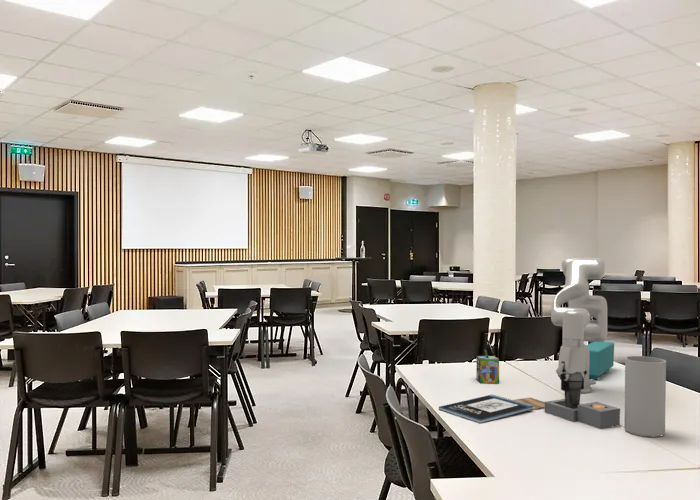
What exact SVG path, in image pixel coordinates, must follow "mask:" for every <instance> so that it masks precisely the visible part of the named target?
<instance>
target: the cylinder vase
mask: <svg viewBox="0 0 700 500" xmlns="http://www.w3.org/2000/svg"><path fill="white" fill-rule="evenodd" d="M624 360H625V361H624V419H623V420H624V422H623V423H624V424H623V425H624V426H623V427H624V430H625V431H626V432H628V433H629V432H630V433H629V434H632V435H635V434H636V435H635V436H639V435H641V436H640V437H644V436H661V435H663V436H665V434H666V393H667V392H666V391H667V389H666V387H667V385H666V384H667V380H666V379H667V360H666V359H663V358H659V357H653V356H644V355H631V356H629V355H627V356H625V359H624ZM661 437H662V436H661Z"/></svg>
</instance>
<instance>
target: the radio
mask: <svg viewBox="0 0 700 500" xmlns="http://www.w3.org/2000/svg"><path fill="white" fill-rule="evenodd" d="M585 345H586V346H587V348H588V349H589V380H590V379H597V380H598V379H599V377H600V376H601V375H603V374H605V371H610V369H611V368H613V367H614V361H615V360H614V359H615V353H614V352H615V343H614V342H612V341H603V342H592V341H591V342H590V343H588V344H585Z"/></svg>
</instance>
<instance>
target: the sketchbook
mask: <svg viewBox="0 0 700 500" xmlns="http://www.w3.org/2000/svg"><path fill="white" fill-rule="evenodd" d="M512 400H513V401H512ZM518 402H519V401H515V399H511V398H506V397H503V396H500V395H496V394H492V393H491V394H488V395H484V396H480V397H475V398H470V399H467V400H463V401H458V402H454V403H450V404H444V405H440V406H438V410H439V411H442V412H445V413H448V414H451V415H454V416H456V417H460V418H463V419H465V420H469V421H472V422H475V423H478V424H483V423H487V422H490V421H494V420H498V419H502V418H506V417H510V416H513V415H516V414H517V415H518V414H520V413H526V412H529V410H531V411H533V410H532V409H533V405H529V404H527V405H526V403H522V402H520V403H518Z"/></svg>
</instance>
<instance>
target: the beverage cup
mask: <svg viewBox="0 0 700 500" xmlns="http://www.w3.org/2000/svg"><path fill="white" fill-rule="evenodd" d="M564 376H566V374H565V375H564ZM567 381H569V391H568V392H566V391H563V392H564V399H565V405H566V407H569V408H572V409H576V408H578V405H579V404H580V402H581V394H582V393H581V386H582V381H583V379H582V375H581V373H580V372H575V373H573V374H570V375H569V378H568V380H567Z"/></svg>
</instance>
